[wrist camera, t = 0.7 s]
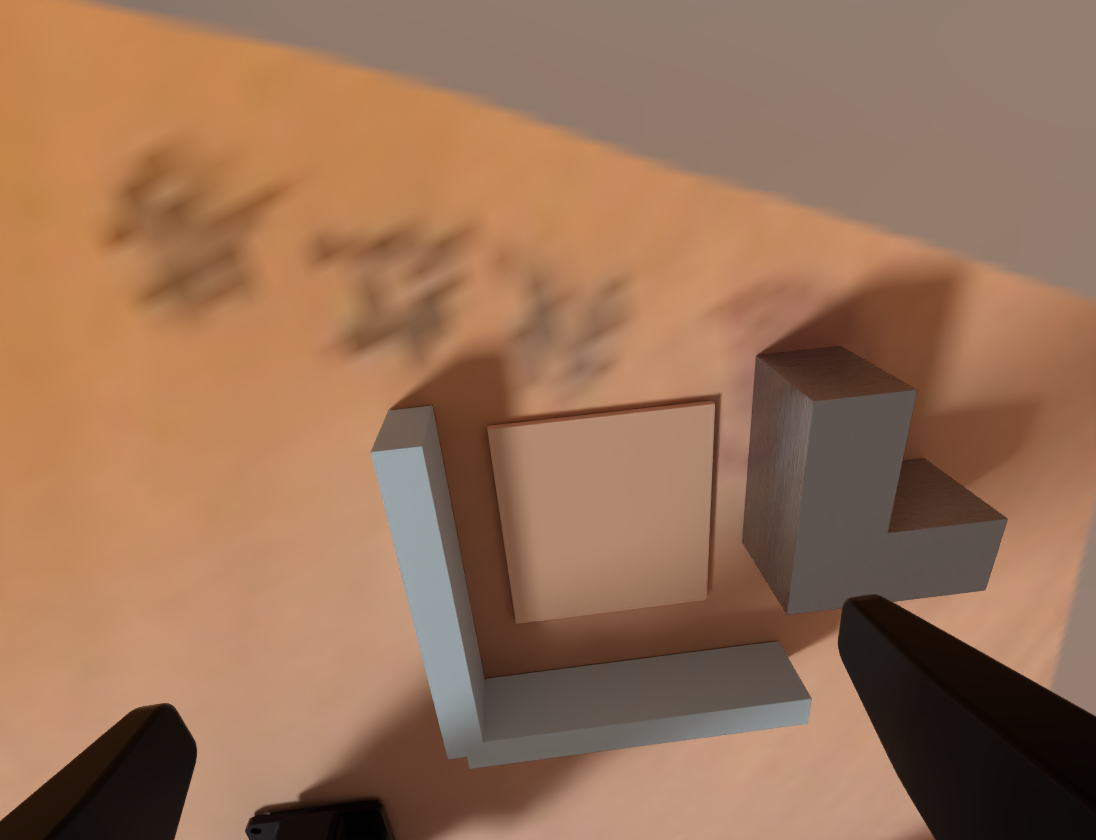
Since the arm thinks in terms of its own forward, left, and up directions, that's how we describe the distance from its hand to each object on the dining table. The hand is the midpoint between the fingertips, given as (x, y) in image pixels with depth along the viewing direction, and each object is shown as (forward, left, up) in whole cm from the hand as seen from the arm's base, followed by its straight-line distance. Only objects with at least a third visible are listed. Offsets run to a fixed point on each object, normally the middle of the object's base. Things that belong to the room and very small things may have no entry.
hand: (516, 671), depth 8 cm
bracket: (-5, -12, -13) cm, 18 cm away
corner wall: (-9, -3, -13) cm, 16 cm away
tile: (-7, -3, -13) cm, 15 cm away
